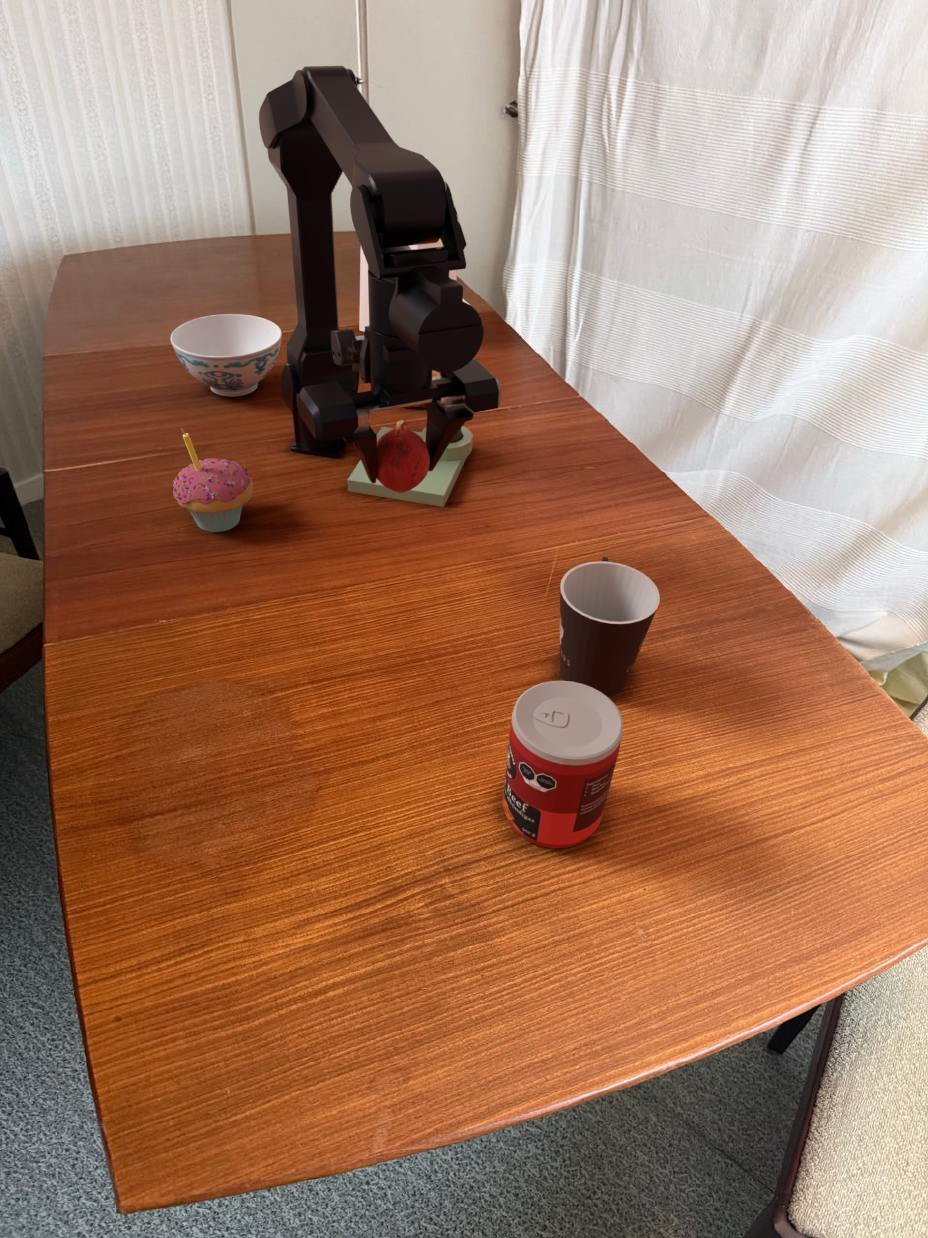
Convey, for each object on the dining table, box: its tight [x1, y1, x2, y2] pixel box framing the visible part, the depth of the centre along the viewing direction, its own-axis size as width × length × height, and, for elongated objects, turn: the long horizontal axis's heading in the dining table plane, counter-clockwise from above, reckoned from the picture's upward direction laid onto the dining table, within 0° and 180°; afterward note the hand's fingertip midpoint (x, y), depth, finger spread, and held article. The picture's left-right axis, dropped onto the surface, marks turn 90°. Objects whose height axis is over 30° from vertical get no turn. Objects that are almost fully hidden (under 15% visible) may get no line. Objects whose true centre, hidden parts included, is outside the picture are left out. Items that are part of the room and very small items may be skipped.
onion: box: [377, 419, 430, 493], centre depth 83 cm, size 6×6×8 cm
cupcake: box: [171, 427, 255, 533], centre depth 91 cm, size 9×8×12 cm
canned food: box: [501, 680, 624, 849], centre depth 63 cm, size 8×8×11 cm
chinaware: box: [170, 313, 283, 397], centre depth 118 cm, size 15×15×8 cm
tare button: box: [450, 428, 461, 443], centre depth 105 cm, size 4×4×2 cm
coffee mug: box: [559, 556, 661, 698], centre depth 76 cm, size 12×9×10 cm
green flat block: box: [347, 425, 474, 508], centre depth 104 cm, size 13×14×4 cm
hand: (401, 474), depth 84 cm, fingers closed on onion, 6 cm apart
